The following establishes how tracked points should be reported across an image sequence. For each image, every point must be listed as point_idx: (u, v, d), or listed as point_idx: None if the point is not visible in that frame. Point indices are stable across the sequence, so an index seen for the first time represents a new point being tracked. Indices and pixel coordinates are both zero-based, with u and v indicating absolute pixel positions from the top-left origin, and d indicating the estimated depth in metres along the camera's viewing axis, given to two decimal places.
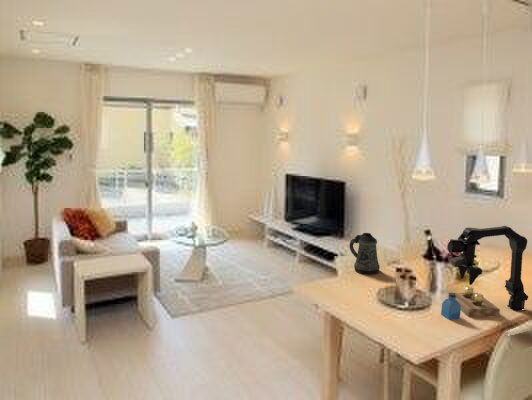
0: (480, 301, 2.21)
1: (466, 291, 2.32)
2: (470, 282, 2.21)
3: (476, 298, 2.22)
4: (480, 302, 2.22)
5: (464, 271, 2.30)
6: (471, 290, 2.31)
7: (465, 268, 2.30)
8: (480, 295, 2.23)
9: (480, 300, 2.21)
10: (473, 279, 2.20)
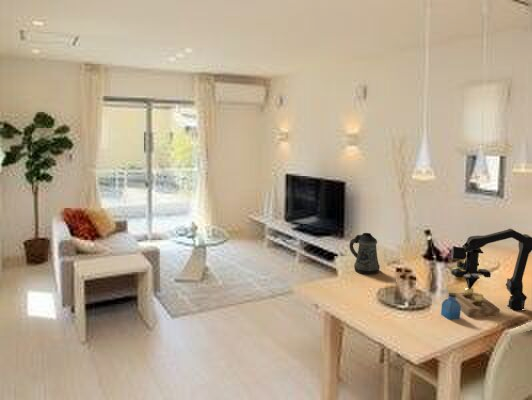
0: (480, 301, 2.21)
1: (466, 291, 2.32)
2: (468, 285, 2.33)
3: (476, 298, 2.22)
4: (480, 302, 2.22)
5: (471, 282, 2.31)
6: (471, 290, 2.31)
7: (472, 279, 2.30)
8: (480, 295, 2.23)
9: (480, 300, 2.21)
10: (468, 283, 2.31)
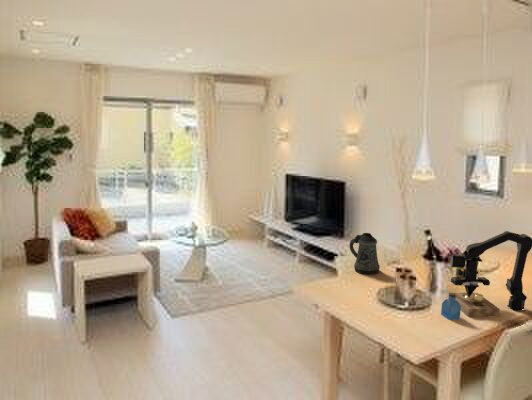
0: (480, 301, 2.21)
1: None
2: (467, 293, 2.34)
3: (476, 298, 2.22)
4: (480, 302, 2.22)
5: None
6: (470, 298, 2.32)
7: (472, 287, 2.31)
8: (480, 295, 2.23)
9: (480, 300, 2.21)
10: (468, 291, 2.32)
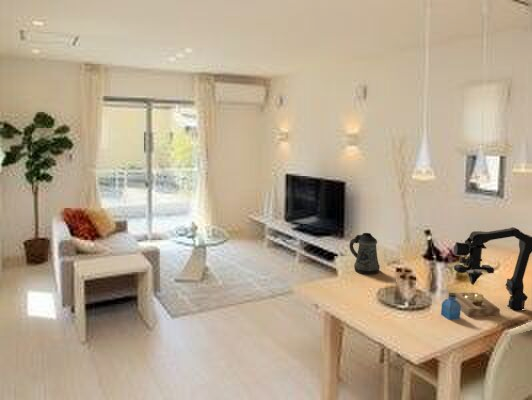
0: (480, 301, 2.21)
1: None
2: None
3: (476, 298, 2.22)
4: (480, 302, 2.22)
5: (474, 278, 2.28)
6: (470, 298, 2.32)
7: (475, 275, 2.27)
8: (480, 295, 2.23)
9: (480, 300, 2.21)
10: (471, 279, 2.28)
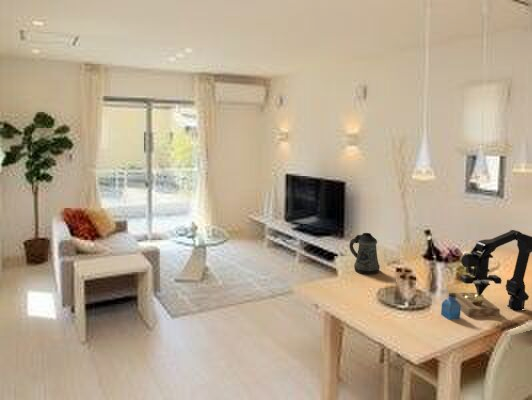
0: (480, 301, 2.21)
1: None
2: (477, 292, 2.23)
3: (476, 298, 2.22)
4: (480, 302, 2.22)
5: (481, 288, 2.21)
6: (470, 298, 2.32)
7: (482, 286, 2.21)
8: (480, 295, 2.23)
9: (480, 300, 2.21)
10: (478, 290, 2.22)
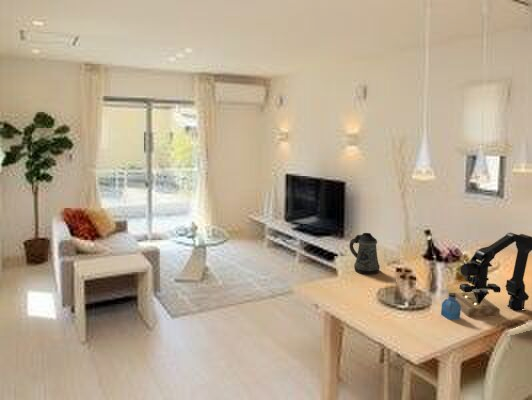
0: None
1: None
2: (476, 300, 2.24)
3: None
4: None
5: (480, 297, 2.22)
6: (470, 298, 2.32)
7: (481, 294, 2.21)
8: (479, 304, 2.23)
9: None
10: (477, 298, 2.22)
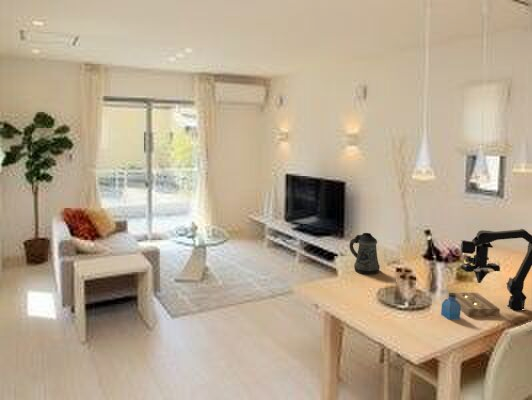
0: None
1: None
2: (477, 280, 2.33)
3: None
4: None
5: (481, 276, 2.31)
6: (470, 298, 2.32)
7: (482, 273, 2.30)
8: (479, 304, 2.23)
9: None
10: (478, 277, 2.31)
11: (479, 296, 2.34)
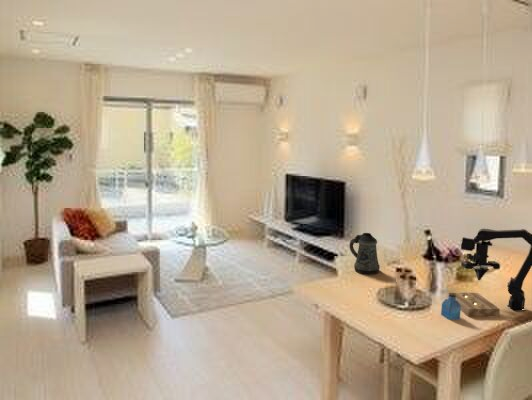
0: None
1: None
2: (477, 277, 2.37)
3: None
4: None
5: (481, 273, 2.35)
6: (470, 298, 2.32)
7: (482, 271, 2.34)
8: (479, 304, 2.23)
9: None
10: (478, 275, 2.35)
11: (479, 296, 2.34)
